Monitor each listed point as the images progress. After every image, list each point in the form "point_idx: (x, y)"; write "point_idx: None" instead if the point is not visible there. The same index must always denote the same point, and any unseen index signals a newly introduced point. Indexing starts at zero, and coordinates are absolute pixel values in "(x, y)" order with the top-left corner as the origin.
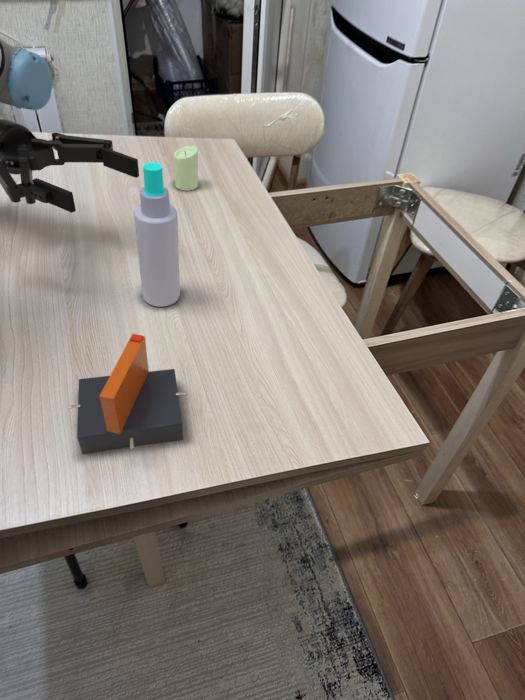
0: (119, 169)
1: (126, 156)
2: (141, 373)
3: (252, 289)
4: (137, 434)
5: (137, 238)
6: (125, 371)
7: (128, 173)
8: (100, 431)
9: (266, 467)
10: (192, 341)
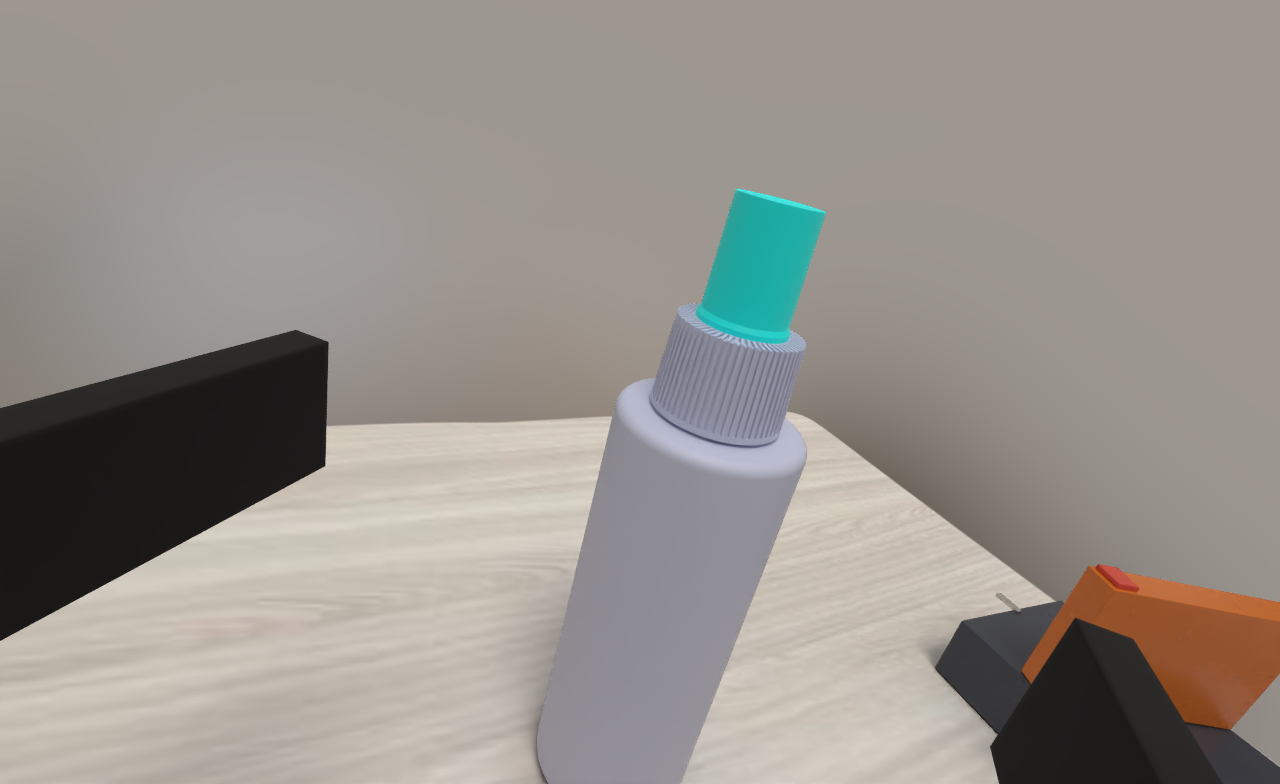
0: (159, 534)
1: (218, 361)
2: None
3: (519, 519)
4: None
5: (749, 574)
6: (1210, 591)
7: (259, 488)
8: (1246, 746)
9: (966, 539)
10: (777, 642)
